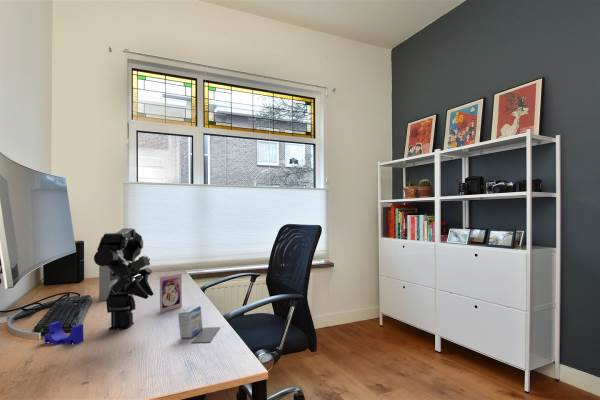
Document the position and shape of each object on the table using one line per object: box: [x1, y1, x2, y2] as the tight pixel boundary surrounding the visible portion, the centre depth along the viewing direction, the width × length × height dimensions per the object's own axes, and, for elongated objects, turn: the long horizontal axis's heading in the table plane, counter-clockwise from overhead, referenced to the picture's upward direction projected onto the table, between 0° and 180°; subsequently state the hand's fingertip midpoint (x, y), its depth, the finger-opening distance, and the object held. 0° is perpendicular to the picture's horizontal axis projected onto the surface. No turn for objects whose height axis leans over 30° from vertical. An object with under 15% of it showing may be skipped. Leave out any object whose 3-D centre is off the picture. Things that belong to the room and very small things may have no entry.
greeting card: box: [159, 272, 183, 313], centre depth 152 cm, size 11×7×15 cm, turn 148°
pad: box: [191, 326, 221, 344], centre depth 117 cm, size 6×14×1 cm, turn 0°
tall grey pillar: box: [98, 250, 123, 301], centre depth 176 cm, size 14×6×25 cm, turn 179°
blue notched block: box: [43, 320, 84, 346], centre depth 113 cm, size 12×4×6 cm, turn 72°
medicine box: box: [177, 305, 204, 339], centre depth 118 cm, size 8×4×9 cm, turn 169°
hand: (150, 296), depth 118 cm, fingers open, 4 cm apart
